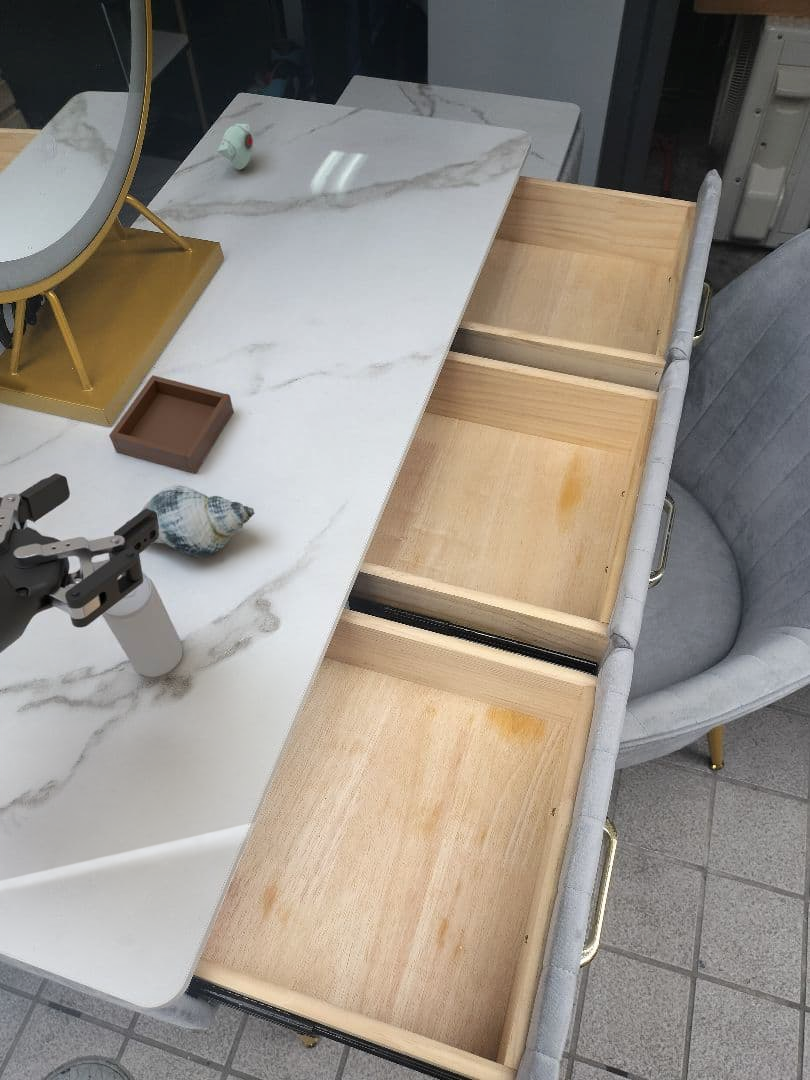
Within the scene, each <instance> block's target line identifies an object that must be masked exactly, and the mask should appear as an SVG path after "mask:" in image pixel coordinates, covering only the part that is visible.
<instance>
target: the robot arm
mask: <svg viewBox="0 0 810 1080" xmlns="http://www.w3.org/2000/svg"><path fill="white" fill-rule="evenodd" d="M70 495H71V492H70V487H69V482H68V479H67V476H65V475H62V474H60V473H53V474H51V475H50V476H49V477H46V478H42V479H41V480H39V481H37V482H36V483H34V484H33V485H32V486H30V487H28V488H26V489H25V490H23V491H22V492H20V493H9V494H6V495H4V496H3V497H1V496H0V654H1V653H3V652H4V651H5V650H6V649H7V648H9V647H10V646H11V645H12V644H14V643H16V641H18V640H19V639H20V638H21V637H22V636H23V634H24V633H25V631H26V630H27V627H28V625H29V624H30V622H31V621H32V619H33V618H34V617H35V616H36V615H38V614H40V613H41V612H43V611H47V610H49V609H52V608H57V609H58V610H60V611H63V612H64V613H66V614H69V617H70V621H71V625H72V626H73V627H75V628H78V629H79V628H85V627H87V626H89V625H91V623H93V622H94V621H95V620H97V619H98V618H99V617H101V616H102V614H103V613H104V612H106V611H107V610H108V609H110V608H111V607H112V606H113V605H115V604H116V603H117V602H119V601H120V600H121V599H123V598H124V597H125V596H126V595H128V594H129V593H130V592H132V591H133V590H134V589H136V588H137V587H138V586H139V585H141V584H142V583H143V574H142V572H143V569H142V562H141V556H140V554H141V553H142V552H143V551H145V550H146V549H147V548H148V547H149V546H151V545H152V544H154V541H156V540H157V538H158V536H159V524H158V517H157V513H156V512H155V511H153V510H150V509H147V508H146V509H144V510H143V511H142V510H141V511H140V512H139V513H137V514H136V515H135V516H134V517H132V518H131V519H129V520H130V521H128V520H127V521H128V522H127V521H126V522H127V523H126V522H125V523H124V524H123V525H122V526H121V527H118V528H117V530H115V531H114V532H113V535H110V536H105V537H101V538H96V539H92V540H91V539H90V540H88V539H87V538H85V537H84V536H78V537H74V538H68V539H64V540H60V539H58V538H56V537H53V536H47V535H42V534H41V533H40V532H38V531H37V530H36V529H34V528H31V527H29V526H28V521H31V522H33V523H36V522H37V521H38V520H40V519H41V518H43V517H45V516H46V515H47V514H48V513H50V512H52V511H54V510H55V509H56V508H58V507H59V506H61V505H62V504H63V503H65V502H66V501H68V499H69V498H70ZM106 554H108V559H104V560H100V561H95V562H94V561H93V558H94V557H97V556H102V555H106ZM69 557H77V558H78V562H79V569H77V571H74V572H70V566H71V565H70V560H69ZM120 575H122V577H121V578H120V579H118V577H119V576H120ZM117 579H118V580H117Z"/></svg>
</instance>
